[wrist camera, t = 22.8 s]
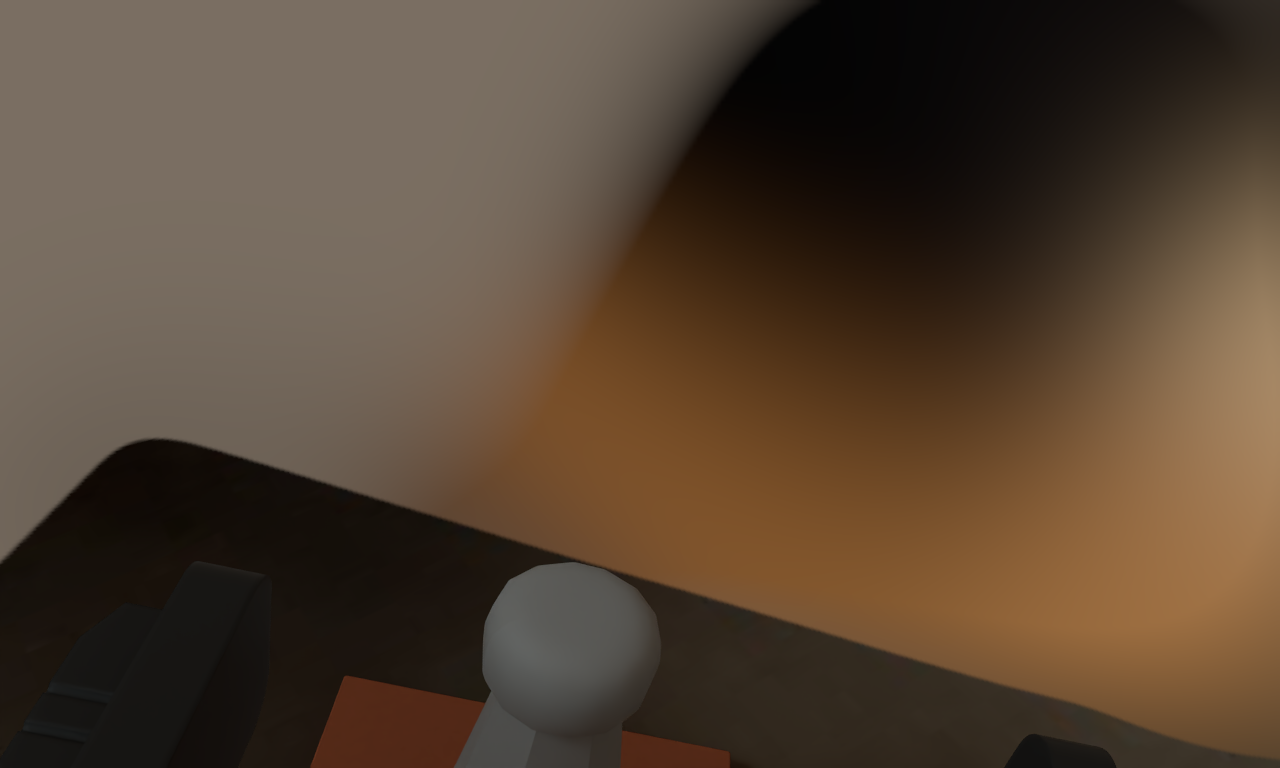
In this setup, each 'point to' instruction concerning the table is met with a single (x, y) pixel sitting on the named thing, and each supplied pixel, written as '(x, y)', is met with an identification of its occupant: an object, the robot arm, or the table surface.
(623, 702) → the salt shaker
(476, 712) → the mat
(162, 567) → the table surface
